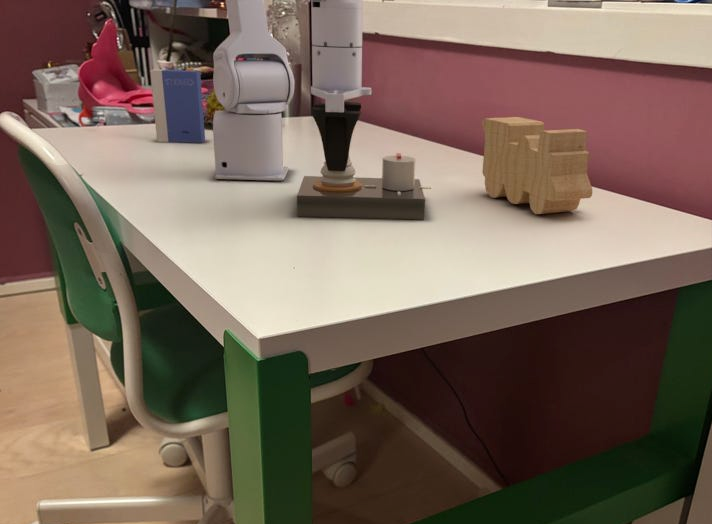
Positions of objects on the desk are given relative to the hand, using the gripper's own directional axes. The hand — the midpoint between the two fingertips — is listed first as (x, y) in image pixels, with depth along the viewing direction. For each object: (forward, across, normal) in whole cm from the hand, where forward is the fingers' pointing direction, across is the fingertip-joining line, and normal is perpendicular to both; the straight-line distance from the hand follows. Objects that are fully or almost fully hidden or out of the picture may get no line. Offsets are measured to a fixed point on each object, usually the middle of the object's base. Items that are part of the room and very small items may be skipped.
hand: (337, 167), depth 90 cm
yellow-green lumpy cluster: (+5, +65, +23) cm, 69 cm away
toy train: (+5, +4, -25) cm, 26 cm away
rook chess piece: (+2, 0, 0) cm, 2 cm away
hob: (+5, 0, -3) cm, 6 cm away
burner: (+2, 0, 0) cm, 2 cm away
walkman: (+5, +44, +29) cm, 53 cm away
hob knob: (+2, 0, -8) cm, 8 cm away
